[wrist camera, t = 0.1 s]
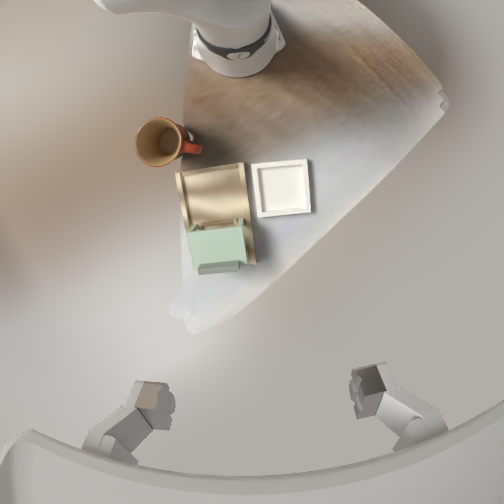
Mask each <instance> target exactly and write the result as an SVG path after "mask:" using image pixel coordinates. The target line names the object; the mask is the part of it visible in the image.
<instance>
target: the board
mask: <svg viewBox="0 0 504 504" xmlns="http://www.w3.org/2000/svg"><path fill="white" fill-rule="evenodd" d="M175 176H176V182H177V188H178V193H179V199H180V204H181V209H182V215H183V220H184V225H185V229H186V232H187V231H188V230H189V228H190V227H191V226H192V224H197V230H196V231H198V230H206V229H214V228H223V227H231V226H237V223H238V219H240V218H243V220H244V226H243V235H244V242H245V249H248V263H247V264H250V263H252V265H255V264H256V255H255V247H254V240H253V232H252V224H251V216H250V208H249V200H248V193H247V185H246V177H245V169H244V162H241V163H233V164H226V165H219V166H212V167H206V168H200V169H194V170H188V171H182V172H177V173H175ZM194 271H195V270H194Z"/></svg>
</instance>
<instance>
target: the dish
mask: <svg viewBox="0 0 504 504" xmlns="http://www.w3.org/2000/svg"><path fill="white" fill-rule="evenodd" d="M251 167H252V175H253V183H254V191H255V199H256V208H257V216H258V218H260V217H269V216H278V215H288V214H299V213H309V212H311V205H310V190H309V177H308V165H307V159H294V160H282V161H271V162H262V163H253V164H251Z"/></svg>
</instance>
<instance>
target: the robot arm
mask: <svg viewBox="0 0 504 504" xmlns="http://www.w3.org/2000/svg"><path fill="white" fill-rule="evenodd" d="M94 1H95V3H96V4H97V5H98V6H100V7H101V8H103V9H104V10H106V11H108V12H110V13H114V14H119V15H120V14H128V13H140V12H151V13H161V14H168V15H172V16H176V17H180V18H183V19H186V20H189V21H191V22H192V23H193V24H194V25H195V26H196V27H195V30H194V31H193V35H194V41H193V49H192V56H193V58H195V59H196V60H199V61H202V62H205V63H206V64H207V65H208V66H209V67H211V68H212V69H213V70H214V71H216V72H217V73H219V74H221V75H224V76H228V77H246V76H250V75H253V74H255V73H257V72H259V71H261V70H262V69H264V68H265V67H266V66H267V65H268V64H269V62H270V61H271V59H272V58H273V56H274V55H275V53H277V52H278V51H280V50H281V49H283V48H284V47H285V40H284V38H283V35H282V33H281V31H280V29H279V26H278V24H277V22H276V20H275V18H274V16H273V13H272V11H271V9H270V8H271V0H94ZM278 38H279V40H278ZM349 390H350V396H351V400H353V401H354V402H355V405H354V410H355V413H356V417H357V419H360V418H365V417H369V416H373V415H375V416H376V417H377V418H378V419H379V420H380V421H381V422H383V423H384V424H385V425H386V426H387V427H388V428H390V429H391V430H392V431H393V432H394V433H396V434H397V435H398V436H399V437H400V438H399V440H398V441H397V443H396V444H395V446H394V447H393V451H394V452H393V453H390V454H387V455H384V456H380V457H377V458H373V459H369V460H365V461H362V462H357V463H353V464H349V465H344V466H339V467H334V468H328V469H322V470H316V471H309V472H302V473H293V474H282V475H266V476H217V475H200V474H190V473H181V472H174V471H167V470H160V469H155V468H149V467H144V466H139V465H138V460H137V459H136V458H135V457H134V456H133V455H132V454H131V452H132V451H133V450H134V449H135V448H136V447H137V446H138V445H139V444H140V443H141V442H142V441H143V440H144V439H145V438H146V437H147V436H148V435H149V434H150V433H151V432H152V431H153V429H158V430H170V426H171V422H172V418H171V416H170V415H171V414H172V413H173V412H174V410H175V398H174V396H173V394H172V393H171V392H169V386H168V385H167V383H158V382H146V381H136V382H135V383H134V384H133V387H132V389H131V391H130V394H129V396H128V399H127V401H126V404H125V406H121V407H120V408H118V409H117V410H116V411H114V412H113V413H112V414H110V415H109V416H108V417H106V418H105V419H104V420H102V421H101V422H100V423H98V424H97V425H95V426H94V427H93V428H91V429H90V430H89V432H88V435H87V437H86V439H85V441H84V444H83V446H82V449H79V448H76V447H73V446H71V445H68V444H65V443H63V442H60V441H58V440H56V439H53V438H51V437H48V436H46V435H44V434H42V433H40V432H38V431H36V430H33V429H29V430H26V431H24V432H22V433H20V434H18V435H17V436H15V437H13V438H11V439H10V440H9V441H8V442H7V443H6V445H5V446H4V448H3V450H2V451H1V453H0V504H504V400H503V401H501V402H499V403H497V404H496V405H494V406H493V407H491V408H490V409H488V410H486V411H485V412H483V413H481V414H479V415H478V416H476V417H474V418H472V419H470V420H468V421H467V422H465V423H463V424H461V425H459V426H457V427H455V428H453V429H451V430H448V428H447V426H446V424H445V422H444V419H443V417H442V415H441V413H440V411H439V409H437V408H435V407H434V406H432V405H430V404H429V403H427V402H425V401H424V400H422V399H420V398H418V397H417V396H415V395H413V394H412V393H410V392H409V391H407V390H405V389H404V388H402V387H400V388H398V386H397V384H396V381H395V379H394V377H393V375H392V373H391V371H390V369H389V367H388V365H387V363H386V362H382V363H378V364H372V365H368V366H364V367H359V368H355V369H353V370H352V379H351V380H350V385H349Z"/></svg>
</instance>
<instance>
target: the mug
mask: <svg viewBox="0 0 504 504" xmlns="http://www.w3.org/2000/svg"><path fill="white" fill-rule="evenodd" d="M135 149H136V153H137V155H138V157H139V158H140V159H141V160H142V161H143V162H144V163H145V164H147V165H149V166H153V167H160V166H164V165H167V164H169V163H170V162H172V161H173V160H174V159H177V158H179V157H181V156H182V155H183V154H184V153H185V152H188V153H193V154H201V153H202V152H203V146H202V145H200V144H196V143H194V142H192V141H190V137H189V134H188V132H187V131H186V129H185V128H184V127H182V126H181V125H179V124H175V123H174V122H173V121H171V120H169V119H167V118H153V119H151V120H149V121H147V122H146V123H144V124H143V125H142V126H141V128H140V129H139V131H138V132H137V135H136V138H135Z"/></svg>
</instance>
